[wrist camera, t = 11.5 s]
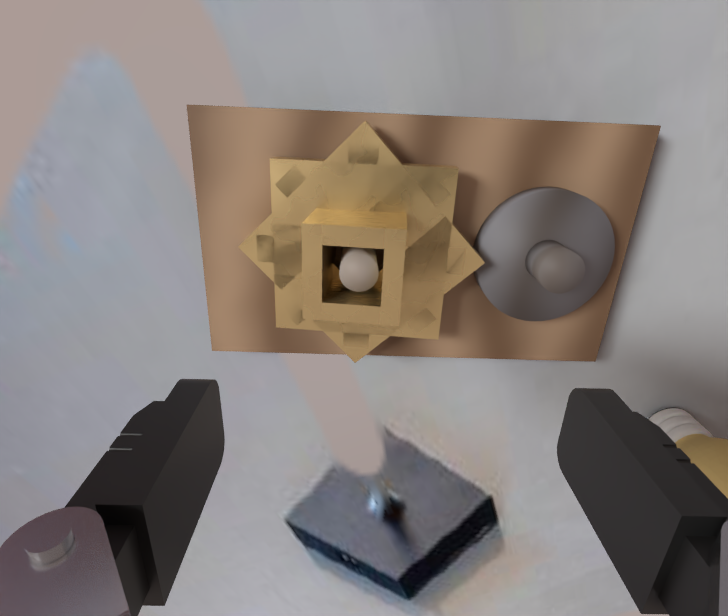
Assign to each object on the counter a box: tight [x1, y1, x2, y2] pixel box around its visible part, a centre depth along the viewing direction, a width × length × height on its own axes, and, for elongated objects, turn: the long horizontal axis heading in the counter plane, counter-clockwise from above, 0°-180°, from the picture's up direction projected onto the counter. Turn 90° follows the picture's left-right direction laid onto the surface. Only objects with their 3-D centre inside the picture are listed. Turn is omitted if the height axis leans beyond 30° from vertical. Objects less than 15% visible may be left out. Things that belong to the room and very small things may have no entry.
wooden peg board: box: [187, 105, 661, 361], centre depth 26 cm, size 26×15×7 cm, turn 88°
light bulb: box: [649, 408, 728, 498], centre depth 31 cm, size 6×6×10 cm
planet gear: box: [238, 120, 485, 363], centre depth 25 cm, size 14×14×5 cm
